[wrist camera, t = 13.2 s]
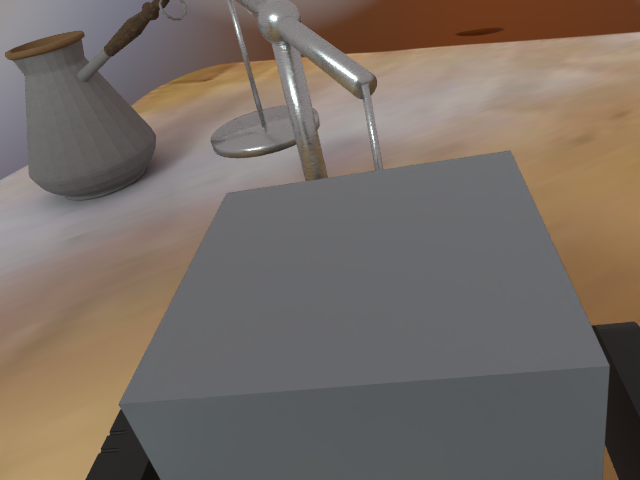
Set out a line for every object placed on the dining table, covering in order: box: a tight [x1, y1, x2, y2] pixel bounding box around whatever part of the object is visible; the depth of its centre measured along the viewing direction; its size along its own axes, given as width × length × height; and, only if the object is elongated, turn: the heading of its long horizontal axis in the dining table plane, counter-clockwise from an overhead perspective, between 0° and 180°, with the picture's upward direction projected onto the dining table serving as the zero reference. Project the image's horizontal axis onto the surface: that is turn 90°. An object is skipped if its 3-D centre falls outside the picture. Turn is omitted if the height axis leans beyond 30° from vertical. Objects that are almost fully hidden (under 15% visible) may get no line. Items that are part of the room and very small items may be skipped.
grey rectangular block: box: [119, 151, 610, 480], centre depth 12 cm, size 6×6×12 cm
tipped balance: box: [211, 0, 383, 181], centre depth 29 cm, size 23×7×16 cm, turn 24°
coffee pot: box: [5, 0, 187, 200], centre depth 47 cm, size 21×12×15 cm, turn 61°
